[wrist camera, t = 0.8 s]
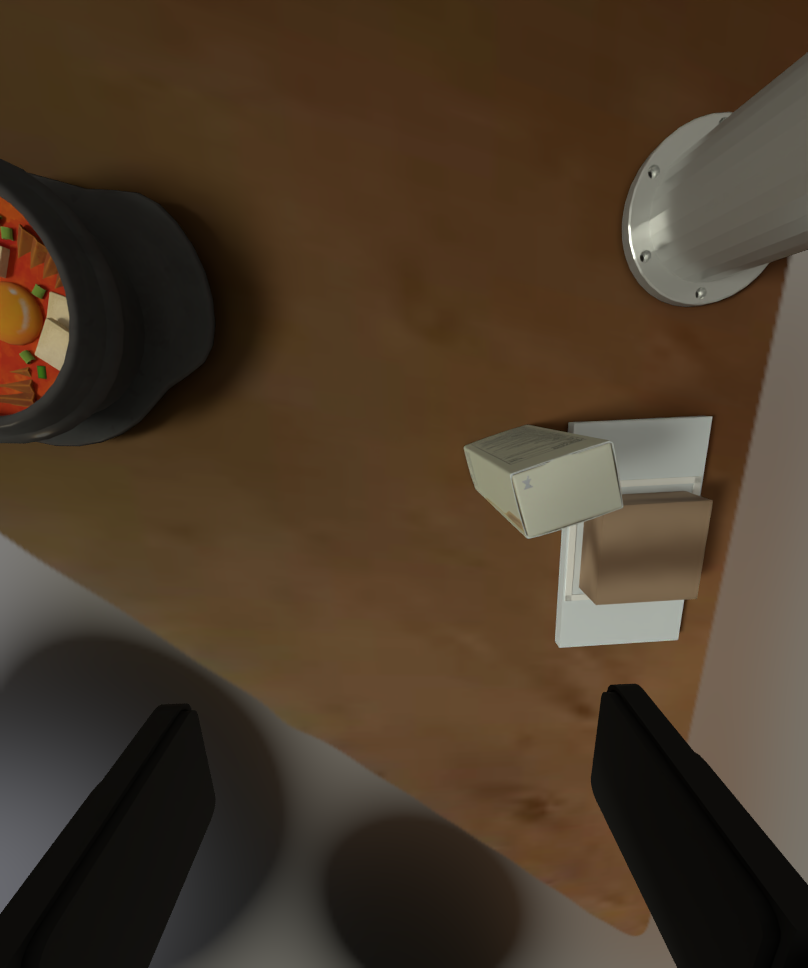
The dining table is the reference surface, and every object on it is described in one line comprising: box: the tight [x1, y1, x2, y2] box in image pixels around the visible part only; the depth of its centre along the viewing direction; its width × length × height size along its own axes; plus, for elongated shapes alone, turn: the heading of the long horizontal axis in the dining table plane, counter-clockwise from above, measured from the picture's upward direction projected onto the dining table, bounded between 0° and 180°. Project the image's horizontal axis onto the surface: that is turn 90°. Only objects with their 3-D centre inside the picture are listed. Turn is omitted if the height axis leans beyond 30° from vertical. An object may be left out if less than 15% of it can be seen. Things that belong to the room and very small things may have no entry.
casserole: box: [0, 159, 215, 446], centre depth 25 cm, size 25×19×8 cm
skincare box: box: [464, 425, 623, 539], centre depth 27 cm, size 6×4×12 cm
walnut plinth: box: [579, 491, 713, 605], centre depth 33 cm, size 9×9×3 cm
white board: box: [555, 416, 712, 648], centre depth 35 cm, size 22×12×1 cm, turn 3°
